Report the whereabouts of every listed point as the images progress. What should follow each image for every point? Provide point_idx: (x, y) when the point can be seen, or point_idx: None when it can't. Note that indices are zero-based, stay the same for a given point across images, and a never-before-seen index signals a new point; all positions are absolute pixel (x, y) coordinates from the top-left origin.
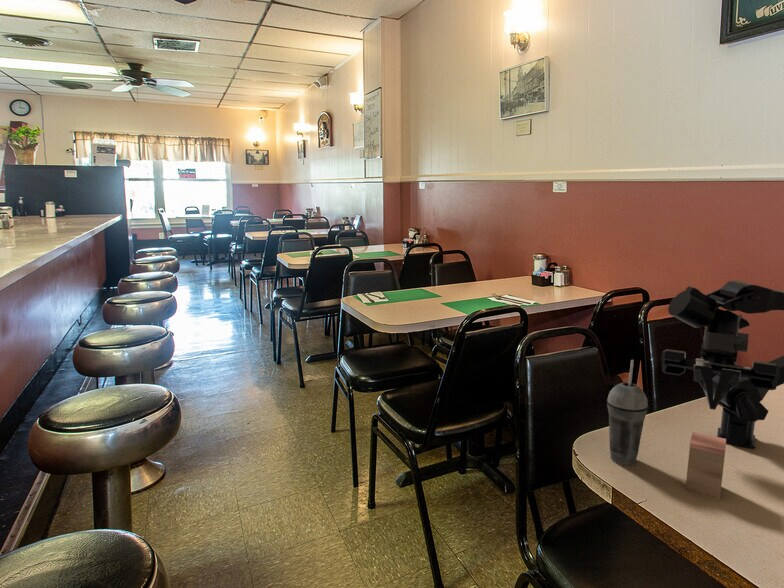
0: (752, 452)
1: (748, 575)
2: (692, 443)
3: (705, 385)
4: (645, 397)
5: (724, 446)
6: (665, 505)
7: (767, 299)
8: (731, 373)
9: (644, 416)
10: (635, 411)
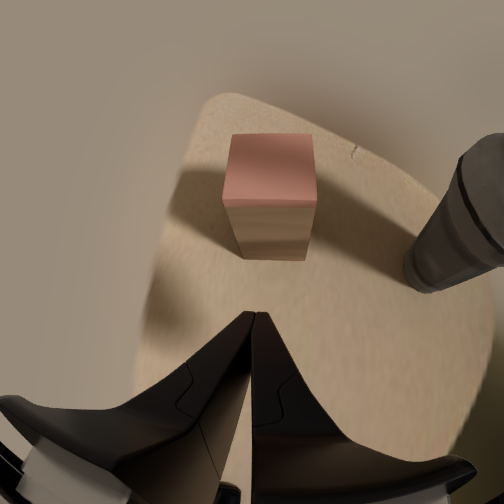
0: None
1: (230, 93)
2: (306, 134)
3: (307, 388)
4: (486, 167)
5: (231, 152)
6: (324, 153)
7: None
8: (48, 413)
9: (450, 195)
10: (465, 152)
